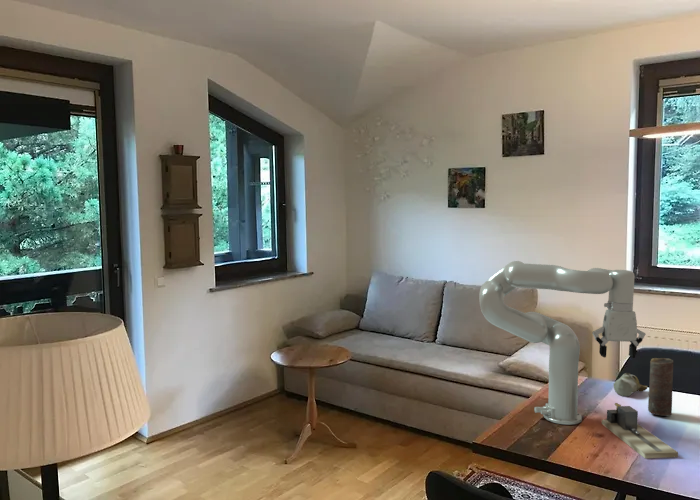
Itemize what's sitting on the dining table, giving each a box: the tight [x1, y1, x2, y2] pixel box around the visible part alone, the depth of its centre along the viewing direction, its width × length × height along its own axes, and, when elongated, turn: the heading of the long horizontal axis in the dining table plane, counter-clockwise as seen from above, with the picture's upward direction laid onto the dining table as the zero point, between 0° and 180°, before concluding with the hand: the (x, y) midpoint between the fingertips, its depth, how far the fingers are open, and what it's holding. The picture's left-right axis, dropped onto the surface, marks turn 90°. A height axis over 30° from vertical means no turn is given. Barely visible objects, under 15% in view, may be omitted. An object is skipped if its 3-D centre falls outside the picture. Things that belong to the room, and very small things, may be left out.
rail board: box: [601, 418, 679, 459], centre depth 182 cm, size 26×10×2 cm, turn 3°
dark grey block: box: [617, 405, 640, 435], centre depth 185 cm, size 9×4×6 cm, turn 3°
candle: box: [647, 357, 674, 417], centre depth 201 cm, size 8×7×20 cm
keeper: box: [606, 402, 622, 423], centre depth 193 cm, size 4×7×6 cm, turn 93°
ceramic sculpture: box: [613, 371, 649, 397], centre depth 224 cm, size 11×9×15 cm
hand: (617, 356), depth 194 cm, fingers open, 9 cm apart
